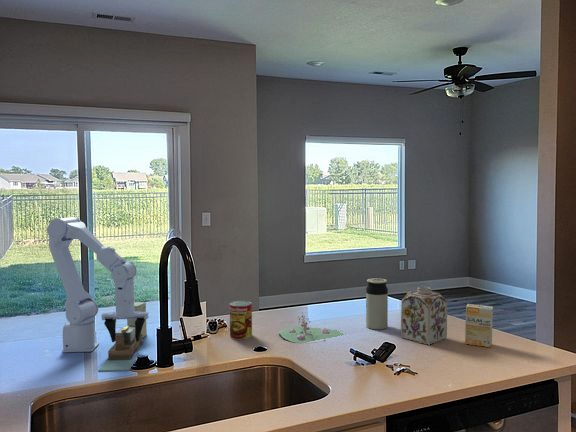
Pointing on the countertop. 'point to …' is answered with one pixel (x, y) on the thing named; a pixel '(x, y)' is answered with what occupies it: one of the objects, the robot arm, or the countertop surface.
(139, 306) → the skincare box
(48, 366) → the countertop surface
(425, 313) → the decorative jar
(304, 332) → the plant
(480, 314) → the supplement box
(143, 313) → the robot arm
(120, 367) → the mat
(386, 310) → the travel mug
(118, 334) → the lever cap
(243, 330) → the canned food
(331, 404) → the countertop surface
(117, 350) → the hand plane
